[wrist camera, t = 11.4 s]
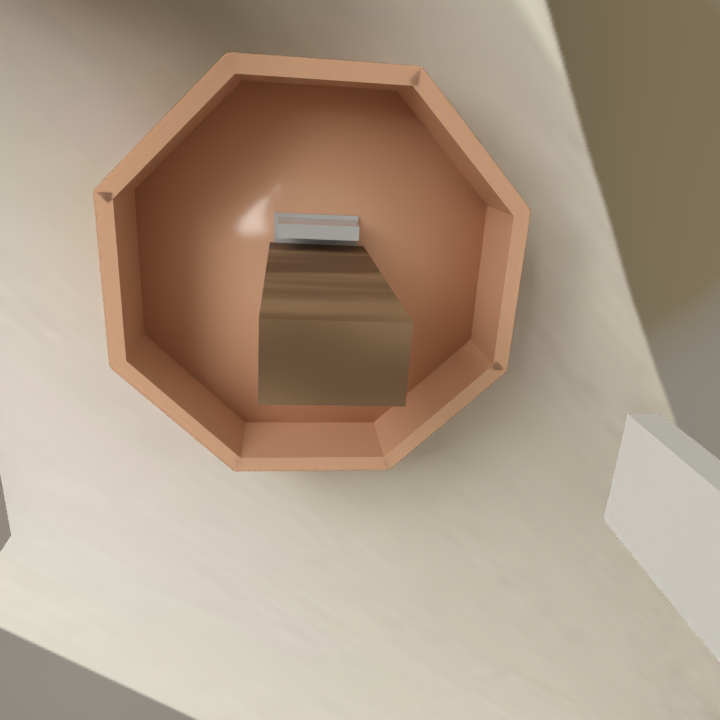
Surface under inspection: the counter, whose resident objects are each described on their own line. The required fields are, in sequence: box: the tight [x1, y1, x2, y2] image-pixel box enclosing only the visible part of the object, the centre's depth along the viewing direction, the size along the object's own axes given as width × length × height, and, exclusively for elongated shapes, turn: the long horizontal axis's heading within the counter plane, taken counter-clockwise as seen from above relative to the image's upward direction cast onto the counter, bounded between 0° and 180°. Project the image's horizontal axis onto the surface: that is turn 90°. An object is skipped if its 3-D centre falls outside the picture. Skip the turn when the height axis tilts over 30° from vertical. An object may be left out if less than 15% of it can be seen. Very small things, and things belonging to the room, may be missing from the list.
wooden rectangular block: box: [258, 242, 413, 407], centre depth 27 cm, size 3×5×14 cm, turn 86°
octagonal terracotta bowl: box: [93, 52, 531, 471], centre depth 32 cm, size 20×20×5 cm
